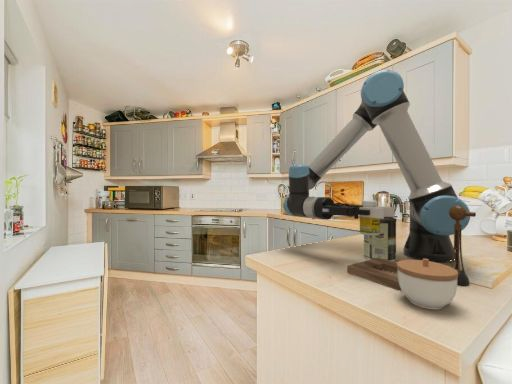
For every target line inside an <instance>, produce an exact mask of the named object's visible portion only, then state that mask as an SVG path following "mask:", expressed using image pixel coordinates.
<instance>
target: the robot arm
mask: <svg viewBox="0 0 512 384" xmlns="http://www.w3.org/2000/svg"><path fill="white" fill-rule="evenodd" d="M404 89H405V85H404V79H403V77H402V75H401V74H400V73H398V71H395V70H393V69H392V70H391V69H382V70H378V71H375V72H373V73H372V74H370V75H369V76H368V77H367V78H366V79H365V81H364V82H363V84H362V87H361V89H360V98H361V101H360V102H361V103H360V105H359V106H358V108H357V109H356V111H355V112H353V114H352V119H351V120H350V121H349V122H347V124H346V125H345V126H344V127H343V128H342V129H341V130H340V131H339V132H338V134H336V136H335V137H334V138H333V139H332V140H331V141H330V142H329V143H328V144H327V145H326V147H324V149H322V151H321V152H320V153H319V154H317V156H316V157H315V158H314V159H313V160H312V161H311V162H310V164H291V165H290V166H289V169H288V196H287V197H285V198H284V200H283V203H282V208H283V211H284V212H285V213H286V214H287V215H289V216H293V217H300V218H301V217H303V218H311V219H312V220H315V219H320V220H327V221H329V220H331V219H332V218H333V217H334V216H340V217H341V216H342V217H349V218H351V217H354V218H353V219H355V220H358V219H359V218H360V217H369V218H379V219H384V217H390V218H395V212H396V211H395V210H396V209H395V206H378V205H377V206H376V208H369V207H363V206H362V204H360V205H358V204H351V203H342V202H334V200H333V198H331V197H328V196H327V197H326V196H310V190H312V189H314V188H316V186H317V183H319V181H320V180H321V179H322V178H323V177H324V176H325V175H326V174H327V173H328V172H329V171H330V170H331V169H332V168H333V167H334V166H335V165H336V164H337V163H338V162H339V161H340V160H341V158H343V156H345V154H347V152H348V151H350V150H351V149H352V147H354V146H355V145H356V144H357V142H358V141H359V140H360V139H361V138H362V137H363V136H365V135H366V134H367V132H370V131H373V130H374V129H375V128H376V127H377V126H379V128H380V130H381V132H382V134H383V136H384V139H385V140H386V142H387V146H389V148H390V150H391V153H392V155H393V157H394V160H395V162H396V164H397V166H398V167H399V169H400V171H401V173H402V176H403V178H404V179H405V182H406V184H407V187H408V188H409V190H410V193H409V195H408V202H409V233H408V236H407V239H406V240H405V244H404V247H403V254H404V255H405V256H407V257H409V258H412V259H415V260H423V259H429V261H430V262H436V263H448V262H447V261H450V260H452V259H453V251H454V244H453V243H452V240H451V237H450V236H452V235H453V236H454V224H456V220H454V219H452V218H451V217H450V216H449V210H450V208H451V207H453V206H457V205H458V206H462V207H464V208H465V209H466V210H467V212H471V211H470V209H469V206H468V205H467V204H466V202H465V201H463V200H462V199H461V198H459V197H458V195H457V194H456V193H457V192H456V191H455V190H454V189H455V188H453V186H452V184H451V183H449V182H446V181H444V180H442V178H441V175H440V174H439V172H438V169H437V168H436V166H435V164H434V162H433V160H432V157H431V156H430V154H429V152H428V149H427V148H426V146H425V144H424V142H423V139H422V138H421V136H420V134H419V131H418V129H417V128H416V126H415V124H414V122H413V120H412V118H411V116H410V114H409V112H408V111H409V107H410V106H411V103H410V100H409V99H408V97H407V95H406V93H405V91H404ZM470 220H471V216H467V217H466V218H465V219H464V220H460V224H461V232H462V231H463V230H465V229H466V228H467V226H468V225H469V223H470ZM454 259H455V258H454Z"/></svg>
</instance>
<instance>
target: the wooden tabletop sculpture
mask: <svg viewBox="0 0 512 384" xmlns="http://www.w3.org/2000/svg"><path fill="white" fill-rule="evenodd" d="M449 216H450V217H451V218H452V219H454V220H456V224H454V234H453V247H454V251H453V259H452V262H451V266H450V267H452V268H454V269H456V270H457V271H458V278H457V287H469V286H470V279H469V276H468V275H467V274H466V272H465V268H464V267H465V266H464V263H463V251H462V231H461V224H460V220H464V219H465V218H466V217H467V216H470V218H471V217H474V218H475V217H476V216H477V213H476V212H473V211H470V212H467V210H466V209H465V208H464V207H462V206H458V205H457V206H453V207H451V208H450V210H449ZM454 258H455V261H454ZM454 263H455V264H454ZM460 263H461V265H460ZM460 267H461V268H460Z"/></svg>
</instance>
